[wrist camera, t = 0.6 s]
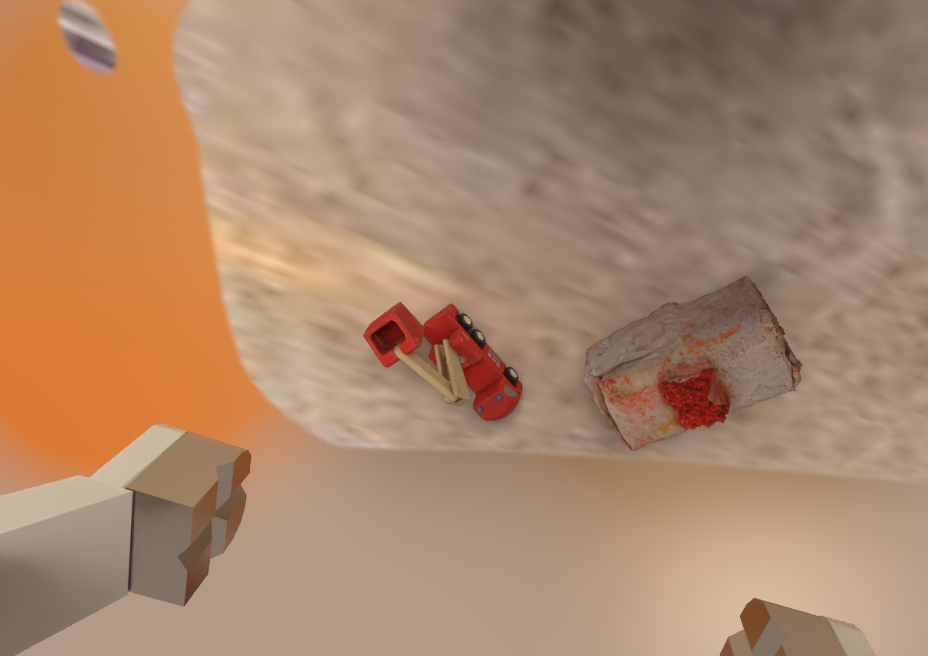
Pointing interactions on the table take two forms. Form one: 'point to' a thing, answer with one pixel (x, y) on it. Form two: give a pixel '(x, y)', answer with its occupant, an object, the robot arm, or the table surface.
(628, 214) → the table surface
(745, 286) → the grey paint-stained brick
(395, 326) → the toy fire truck
